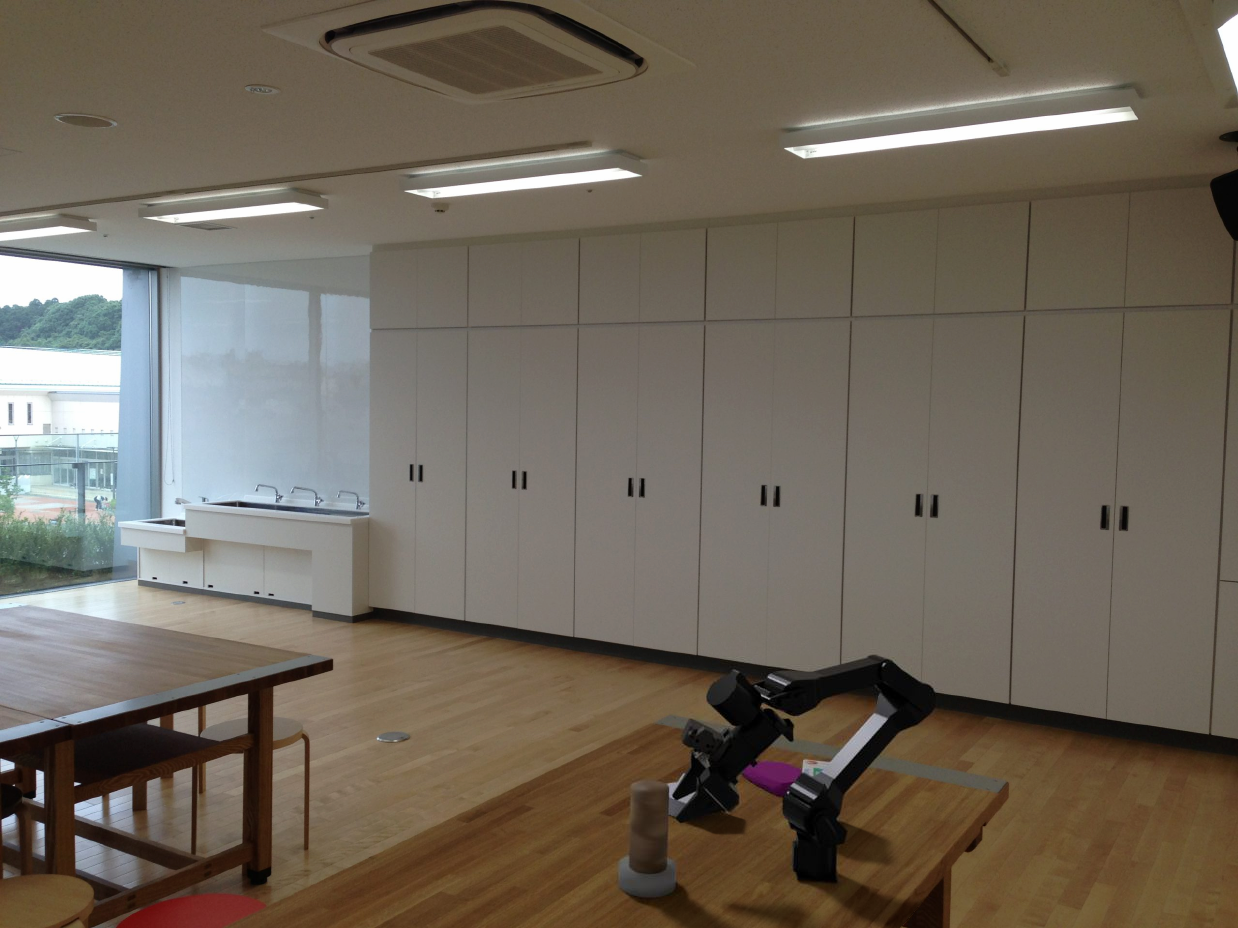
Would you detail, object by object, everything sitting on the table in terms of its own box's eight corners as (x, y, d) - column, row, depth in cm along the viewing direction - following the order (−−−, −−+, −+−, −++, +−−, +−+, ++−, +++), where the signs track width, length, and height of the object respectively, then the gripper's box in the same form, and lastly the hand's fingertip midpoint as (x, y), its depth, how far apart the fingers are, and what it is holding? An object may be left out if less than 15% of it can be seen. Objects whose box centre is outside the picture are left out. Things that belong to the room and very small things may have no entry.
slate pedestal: (675, 872, 165) (676, 854, 165) (675, 898, 156) (675, 879, 156) (620, 869, 166) (620, 851, 166) (616, 895, 157) (616, 876, 157)
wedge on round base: (733, 814, 190) (679, 795, 199) (734, 778, 190) (680, 761, 199) (703, 827, 184) (648, 807, 193) (704, 791, 184) (649, 772, 192)
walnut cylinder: (667, 858, 164) (669, 781, 163) (666, 874, 158) (669, 794, 157) (629, 856, 164) (632, 779, 164) (627, 872, 158) (629, 792, 158)
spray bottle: (776, 799, 199) (709, 762, 221) (821, 791, 204) (752, 755, 226) (776, 784, 199) (709, 748, 221) (821, 777, 204) (752, 742, 226)
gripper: (706, 687, 169) (638, 752, 170) (718, 722, 151) (642, 794, 151) (752, 735, 170) (684, 800, 170) (771, 775, 151) (694, 848, 152)
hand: (675, 808), depth 161 cm, fingers open, 9 cm apart
